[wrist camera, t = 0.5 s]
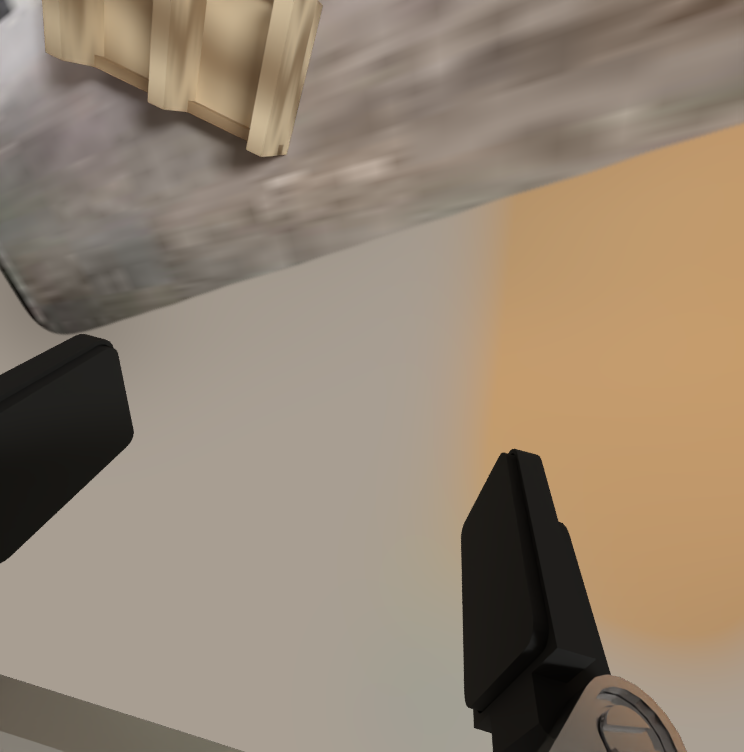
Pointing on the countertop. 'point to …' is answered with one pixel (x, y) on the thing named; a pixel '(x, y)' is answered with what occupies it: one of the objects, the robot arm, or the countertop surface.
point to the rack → (198, 56)
